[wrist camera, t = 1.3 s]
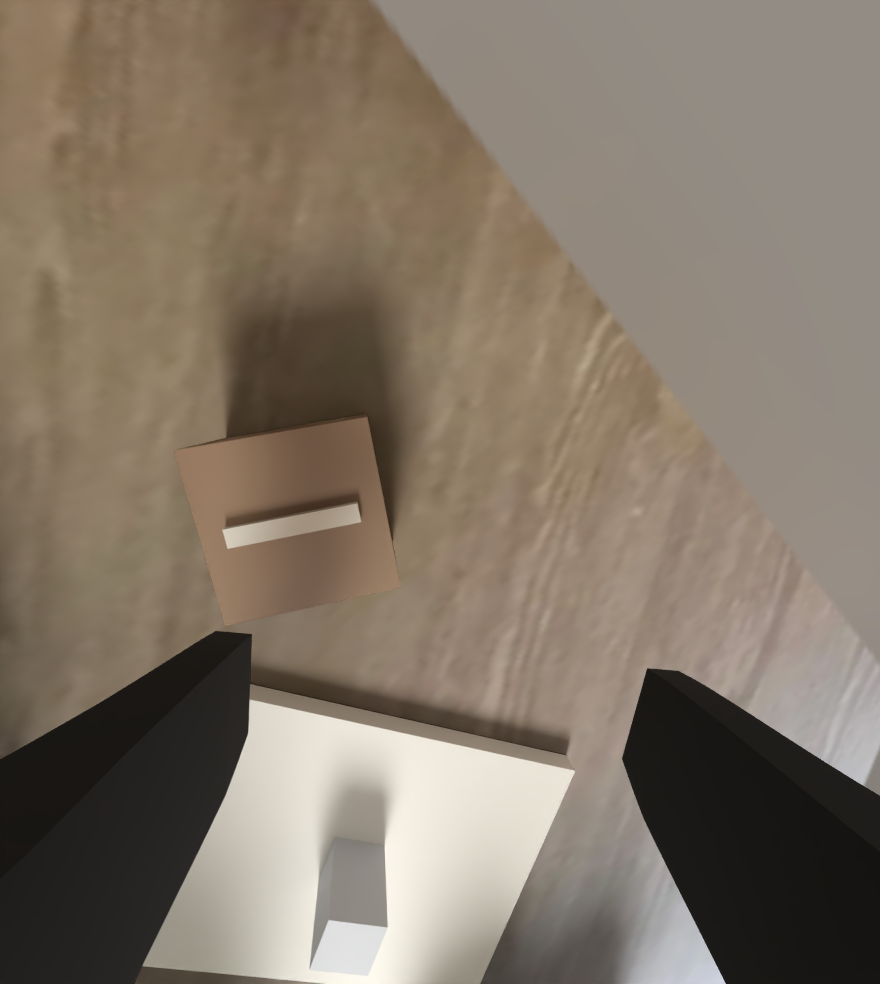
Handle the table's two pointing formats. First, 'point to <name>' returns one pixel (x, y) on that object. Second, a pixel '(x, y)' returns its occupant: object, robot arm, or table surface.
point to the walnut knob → (290, 517)
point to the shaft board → (376, 798)
